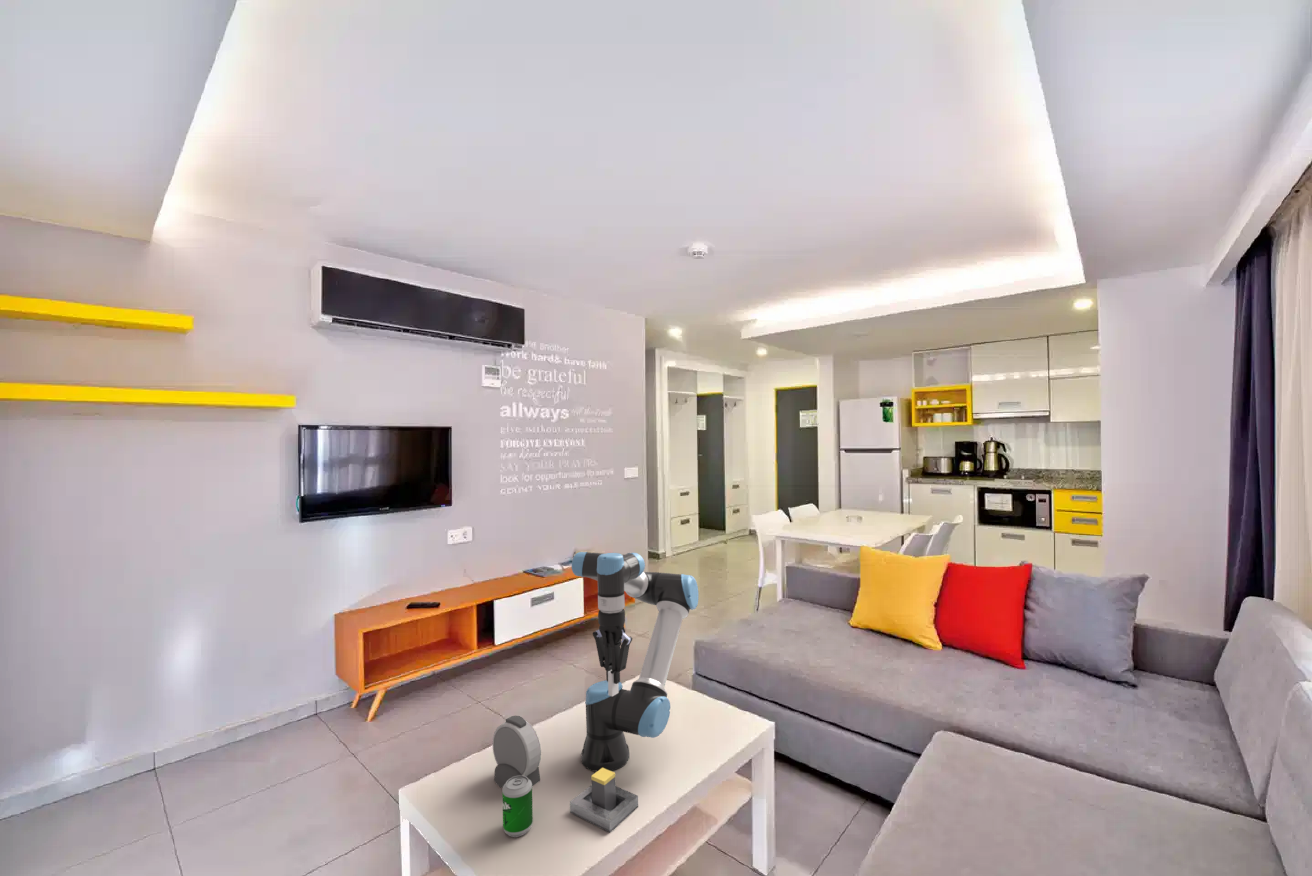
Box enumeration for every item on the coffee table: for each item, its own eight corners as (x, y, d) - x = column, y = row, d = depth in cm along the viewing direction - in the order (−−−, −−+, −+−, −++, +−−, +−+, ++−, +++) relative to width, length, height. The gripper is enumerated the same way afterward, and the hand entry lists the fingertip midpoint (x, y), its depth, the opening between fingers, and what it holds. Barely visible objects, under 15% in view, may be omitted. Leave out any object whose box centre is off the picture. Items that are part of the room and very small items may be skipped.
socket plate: (570, 812, 146) (569, 799, 146) (599, 789, 156) (599, 776, 156) (609, 832, 138) (609, 818, 138) (638, 807, 148) (637, 793, 148)
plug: (592, 809, 146) (591, 776, 146) (603, 800, 150) (602, 767, 150) (605, 816, 143) (604, 781, 144) (616, 806, 147) (615, 773, 147)
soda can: (535, 818, 144) (534, 773, 144) (529, 838, 137) (528, 790, 137) (507, 820, 144) (506, 774, 144) (499, 840, 136) (498, 792, 137)
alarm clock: (548, 779, 161) (547, 718, 162) (522, 798, 153) (521, 733, 153) (512, 763, 170) (511, 704, 171) (485, 780, 162) (484, 718, 162)
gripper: (585, 609, 153) (587, 693, 152) (620, 616, 145) (623, 705, 145) (602, 603, 159) (604, 683, 158) (637, 609, 152) (640, 694, 151)
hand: (613, 694), depth 152 cm, fingers closed
